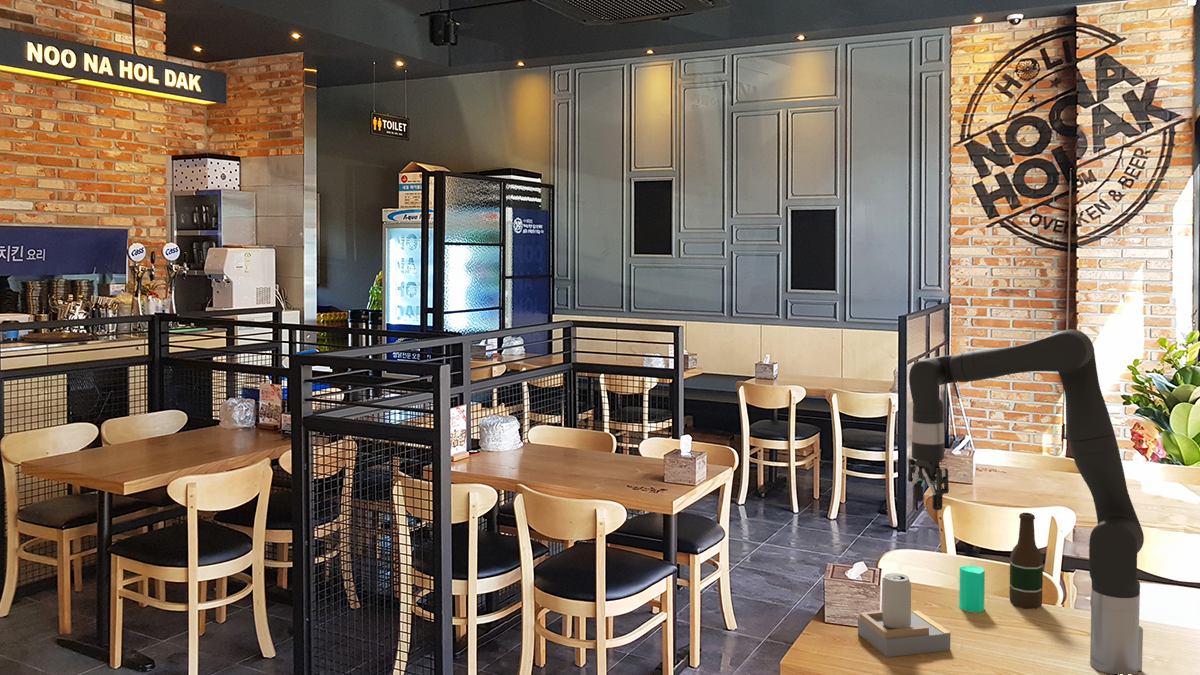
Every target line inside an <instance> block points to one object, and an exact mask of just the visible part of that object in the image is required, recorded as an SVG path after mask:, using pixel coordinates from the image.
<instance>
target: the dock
mask: <svg viewBox="0 0 1200 675" xmlns="http://www.w3.org/2000/svg"><path fill="white" fill-rule="evenodd" d="M857 634H858V635H859V636H860V637H861V638H863V640H865V641H866V642H868V644H870V645H871V646H872V647H873V648H875V649H876V650H878V651H879V652H880V653H881V654H882V655H883V656H885V657H886V658H891V657H901V656H909V655H918V654H927V653H928V654H929V653H935V652H944V651H951V631H949V630H948V629H946V628H945V627H943V626H941V625H940V624H939V623H938V622H936V621H934V620H932V619H931V618H930V617H928V616H927V615H926V614H924V613H922V612H921V611H920V610H911V626H910V627H908V628H901V629H889V628H887V627H886V626H885V625H884V624H883V609H882V610H875V611H864V612H859V617H857Z"/></svg>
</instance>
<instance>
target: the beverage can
mask: <svg viewBox="0 0 1200 675" xmlns="http://www.w3.org/2000/svg"><path fill="white" fill-rule="evenodd" d="M882 610H883V624H884V625H885V626H886V627H887V628H889V629H901V628H908V627H910V626H911V612H912V582H911V581H910V577H909V576H908V575H907V574H906V575H905V574H903V573H894V572H891V573H887V574H884V576H883V580H882Z"/></svg>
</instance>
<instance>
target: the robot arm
mask: <svg viewBox="0 0 1200 675" xmlns="http://www.w3.org/2000/svg"><path fill="white" fill-rule="evenodd" d="M1096 361H1097V360H1096V354H1095V348H1094V345H1093V342H1092V340H1091V338H1089V336H1088V335H1087V334H1085V333H1084V332H1082V331H1080V330H1079V329H1072V328H1071V329H1065V330H1064V329H1063V330H1060V331H1056V332H1054V333H1052V334H1050V335H1049V336H1046V337H1044V338H1040V339H1036V340H1034V341H1031V342H1027V343H1023V344H1019V345H1018V344H1017V345H1012V346H1003V347H992V348H990V347H989V348H981V349H976V350H970V351H964V352H960V353H956V354H954V355H953V354H951V355H942V356H933V357H928V358H924V359H920V360H918V361H916V362H914V363H913V364H912V366H911V367H910V370H909V373H908V374H909V376H908V380H909V381H908V383H909V388H910V395H911V398H912V400H911V401H912V404H913V406H912V427H911V458H909V459H908V467H907V468H908V469H907V471H908V472H907V482H909V483H911V486H912V487H913V501H914V502H916V503H917V502H922V501H924V486H923V485H924V483H927V486H928V487H929V488H930V489H931V492H932V496H931V497H932V502H931V503H932V506H931V508H932V510H934V511H941V510H943V496H944V495H945V494H948V493H949V490H950V489H949V488H950V487H949V470H948V467H947V468H942V467H941V464H940V462H941V461H944V459H945V426H944V403H943V401H942V399H941V398H940V396H939V386H941V385H946V384H953V383H957V382H958V383H969V382H976V381H983V380H989V379H995V378H998V377H1004V376H1009V375H1015V374H1020V373H1021V374H1023V373H1031V372H1032V373H1033V372H1057V373H1058V375H1059V378H1060V381H1061V385H1062V387H1063V388H1062V389H1063V391H1064V398H1065V425H1066V426H1065V427H1066V434H1067V439H1068V444H1069V448H1070V451H1071V453H1072V458H1073V460H1074V464H1075V466H1076V468H1077V470H1078V472H1079V474H1080V475H1081V477H1082V479H1083V481H1084V482H1085V483H1086V486H1087V487H1088V489H1089V492H1090V494H1091V496H1092V499H1093V504H1094V508H1095V513H1096V518H1097V519H1096V520H1097V525H1096V526H1094V527H1093V529H1092V531H1091V532H1090V535H1089V542H1088V543H1089V544H1088V545H1089V546H1088V547H1089V548H1088V559H1089V560H1088V561H1089V562H1088V564H1089V566H1088V568H1089V570H1088V571H1089V578H1090V579H1091V580H1090V581H1091V601H1090V602H1091V605H1090V606H1091V608H1090V646H1089V648H1090V655H1089V656H1090V657H1089V664H1090V666H1091V667H1092V668H1094V669H1095V670H1096V671H1097V670H1098V671H1099V672H1101V671H1102V672H1101V673H1104V672H1105V674H1108V673H1111V674H1110V675H1112V674H1119V675H1120V674H1123V675H1128V674H1134V673H1136V672H1137V673H1138V672H1140V671H1139V670H1141V671H1143V647H1144V646H1143V644H1144V643H1143V642H1144V641H1143V640H1144V629H1143V627H1142V626H1140V609H1141V608H1140V606H1141V605H1140V603H1141V602H1140V600H1141V599H1140V598H1141V583H1140V581H1139V578H1138V553H1139V552H1140V551H1141V549H1142V548H1143V547H1144V546H1143V545H1144V542H1145V536H1144V532H1143V531H1144V530H1143V529H1142V526H1141V522H1140V521H1139V518H1138V515H1137V513H1136V511H1135V507H1134V505H1133V502H1132V499H1131V497H1130V494H1129V490H1128V487H1127V481H1126V476H1125V475H1126V474H1125V470H1124V467H1123V462H1122V457H1121V453H1120V449H1119V444H1118V442H1117V438H1116V434H1115V430H1114V427H1113V423H1112V421H1111V416H1110V413H1109V411H1108V407H1107V405H1106V402H1105V399H1104V396H1103V394H1102V390H1101V385H1100V381H1099V375H1098V369H1097V362H1096ZM1137 673H1136V674H1137ZM1134 675H1135V674H1134Z"/></svg>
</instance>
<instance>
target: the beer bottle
mask: <svg viewBox="0 0 1200 675" xmlns="http://www.w3.org/2000/svg"><path fill="white" fill-rule="evenodd" d="M1018 516H1019V519H1020V520H1019V528H1018V530H1019V531H1018V538H1017V539H1018V540H1017V543H1016V544H1015V546H1014V547H1013V548H1012V549H1011V550H1012V551H1011V553H1010V558H1009V601H1010V603H1011V604H1012V605H1013V606H1014V607H1017V608H1021V609H1026V610H1036V609H1039V608H1040V607H1041V606H1042V605H1043V583H1044V582H1043V581H1044V578H1043V577H1044V575H1043V573H1044V572H1043V571H1044V563H1043V562H1044V561H1043V556H1042V553H1041V551H1040V549H1039V548H1038V547H1037V545H1036V539H1035V536H1036V535H1035V519H1036V517H1035V515H1034V514H1033V513H1031V512H1022V513H1020V514H1019V515H1018Z"/></svg>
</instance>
